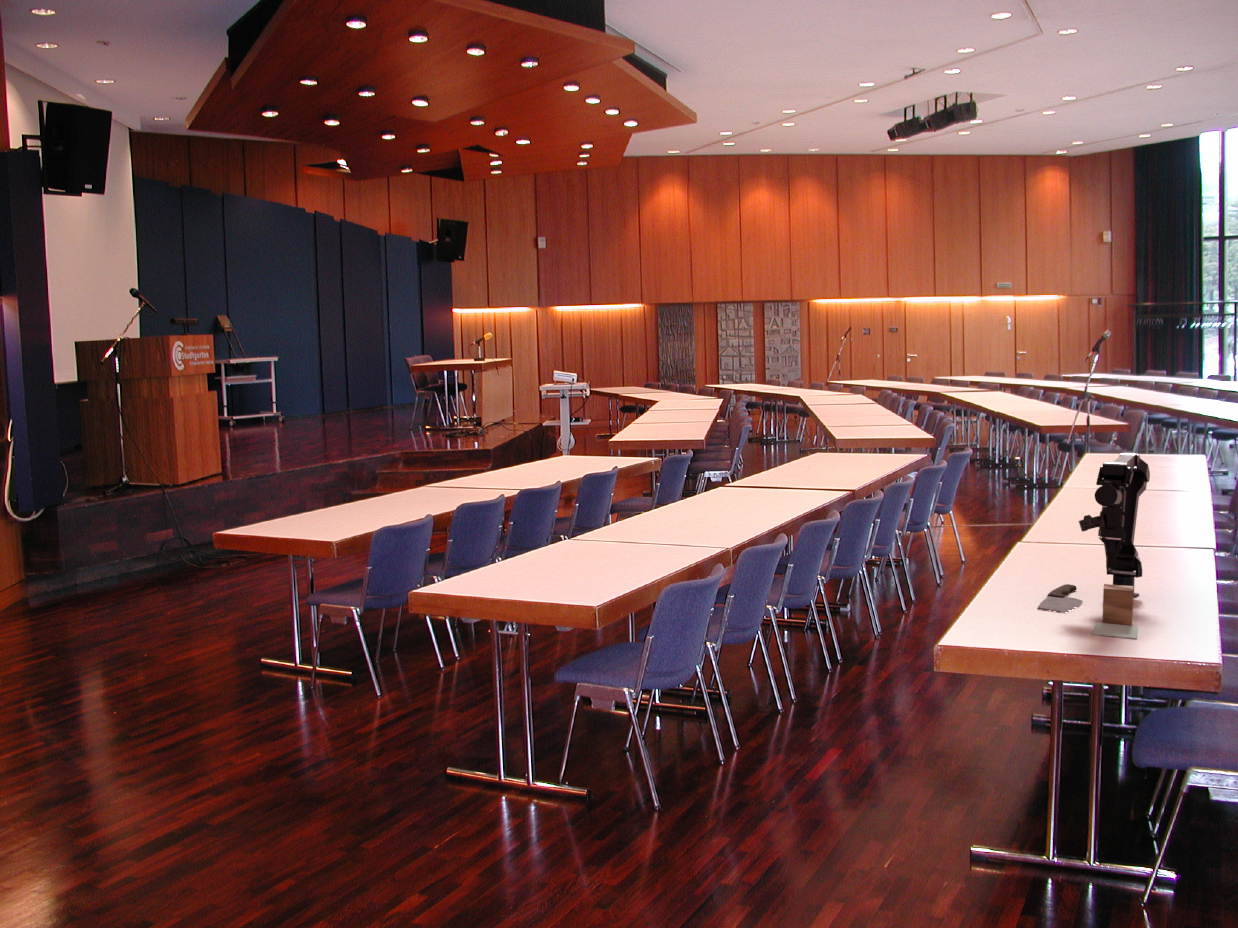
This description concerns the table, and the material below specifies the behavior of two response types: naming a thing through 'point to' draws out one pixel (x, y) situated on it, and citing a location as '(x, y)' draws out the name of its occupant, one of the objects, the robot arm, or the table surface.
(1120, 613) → the slab
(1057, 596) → the cleaver
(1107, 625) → the mat
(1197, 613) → the table surface
